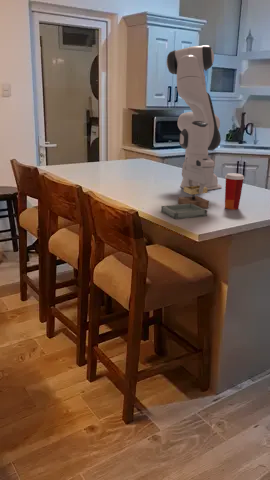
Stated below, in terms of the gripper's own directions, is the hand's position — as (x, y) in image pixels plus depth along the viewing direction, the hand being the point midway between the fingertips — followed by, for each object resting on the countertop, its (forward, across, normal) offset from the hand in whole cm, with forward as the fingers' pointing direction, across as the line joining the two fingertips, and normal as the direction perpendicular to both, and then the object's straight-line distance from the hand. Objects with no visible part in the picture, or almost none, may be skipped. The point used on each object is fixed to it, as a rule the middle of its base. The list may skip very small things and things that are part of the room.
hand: (195, 191), depth 193 cm
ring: (0, 0, 0) cm, 0 cm away
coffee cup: (+7, +9, +14) cm, 18 cm away
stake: (+4, 0, -1) cm, 4 cm away
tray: (+6, +10, -12) cm, 17 cm away
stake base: (+7, 0, -1) cm, 7 cm away
